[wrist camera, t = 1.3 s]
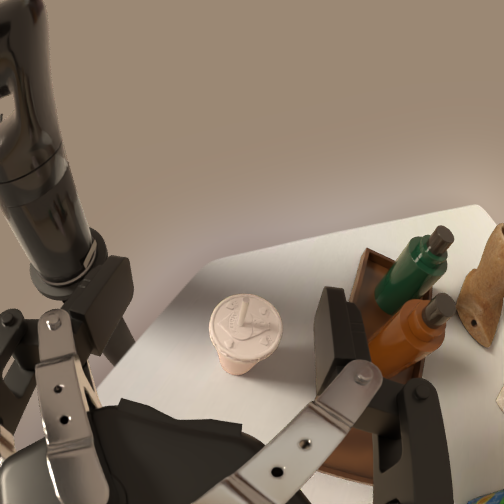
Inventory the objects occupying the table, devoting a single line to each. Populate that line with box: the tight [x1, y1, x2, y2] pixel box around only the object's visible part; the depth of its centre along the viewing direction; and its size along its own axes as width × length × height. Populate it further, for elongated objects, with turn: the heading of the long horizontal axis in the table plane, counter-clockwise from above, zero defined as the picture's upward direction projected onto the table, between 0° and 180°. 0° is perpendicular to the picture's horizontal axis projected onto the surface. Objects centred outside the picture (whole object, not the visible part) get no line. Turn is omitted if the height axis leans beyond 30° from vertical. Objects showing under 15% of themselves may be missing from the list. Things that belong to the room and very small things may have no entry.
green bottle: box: [374, 225, 454, 316], centre depth 35 cm, size 6×6×14 cm
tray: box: [315, 248, 432, 486], centre depth 34 cm, size 31×12×2 cm, turn 155°
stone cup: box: [456, 223, 504, 348], centre depth 37 cm, size 15×12×15 cm
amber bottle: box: [367, 293, 456, 379], centre depth 29 cm, size 6×6×14 cm
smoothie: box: [209, 294, 283, 375], centre depth 28 cm, size 6×6×14 cm
